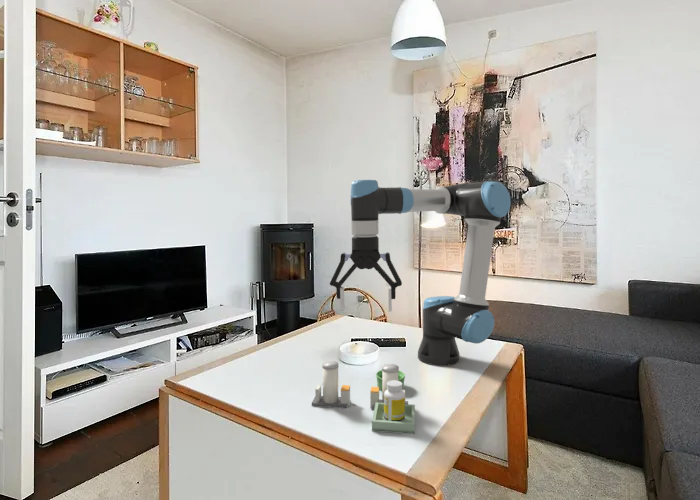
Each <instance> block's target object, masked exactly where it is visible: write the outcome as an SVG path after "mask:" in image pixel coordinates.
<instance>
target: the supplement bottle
mask: <svg viewBox="0 0 700 500" xmlns="http://www.w3.org/2000/svg"><path fill="white" fill-rule="evenodd" d="M402 390H403V389H402V383H401V382H400V381H396V380H392V381H388V382H387V390H386V391H385V392H384V420H385V421H397V422H403V421H404V419H405V401H406V392H405V393H404V392H403V391H402Z"/></svg>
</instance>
